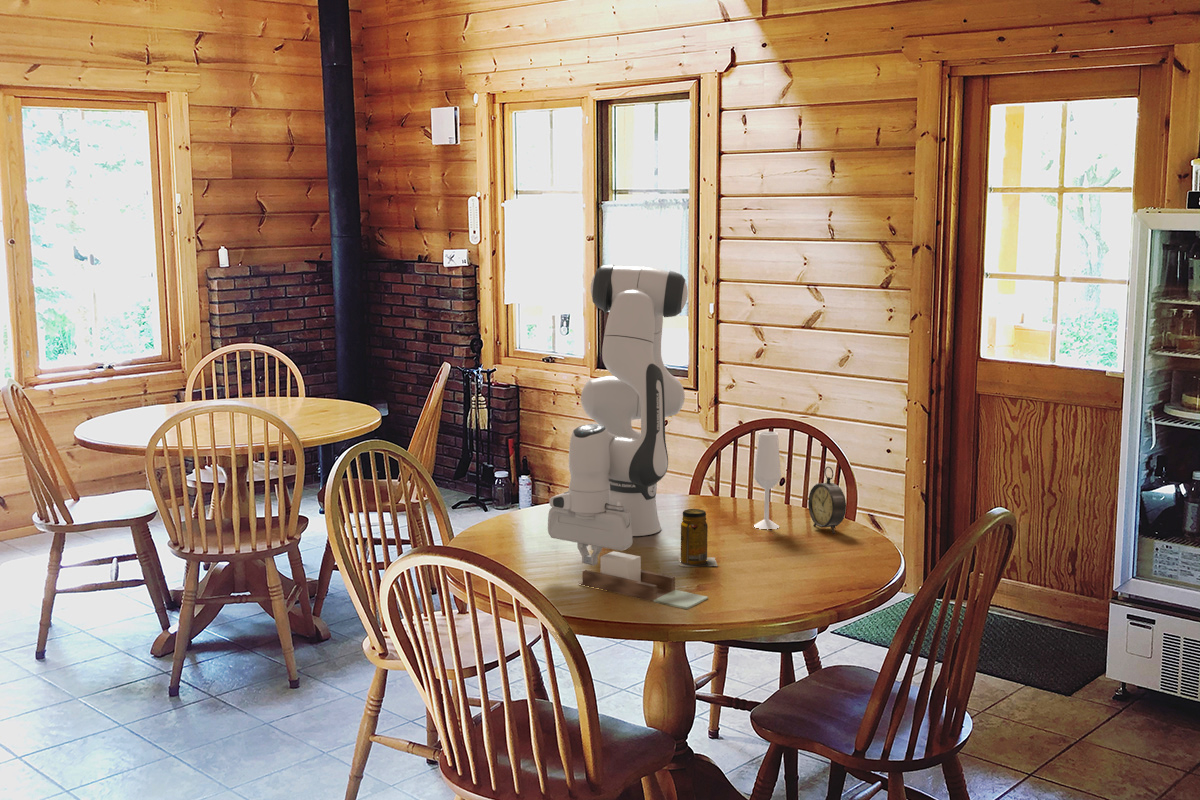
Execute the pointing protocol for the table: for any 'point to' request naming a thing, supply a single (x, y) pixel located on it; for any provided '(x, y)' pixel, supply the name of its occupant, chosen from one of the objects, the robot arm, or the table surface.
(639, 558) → the block
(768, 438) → the champagne flute
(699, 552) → the condiment
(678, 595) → the chute
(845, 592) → the table surface
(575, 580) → the table surface
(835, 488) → the alarm clock
